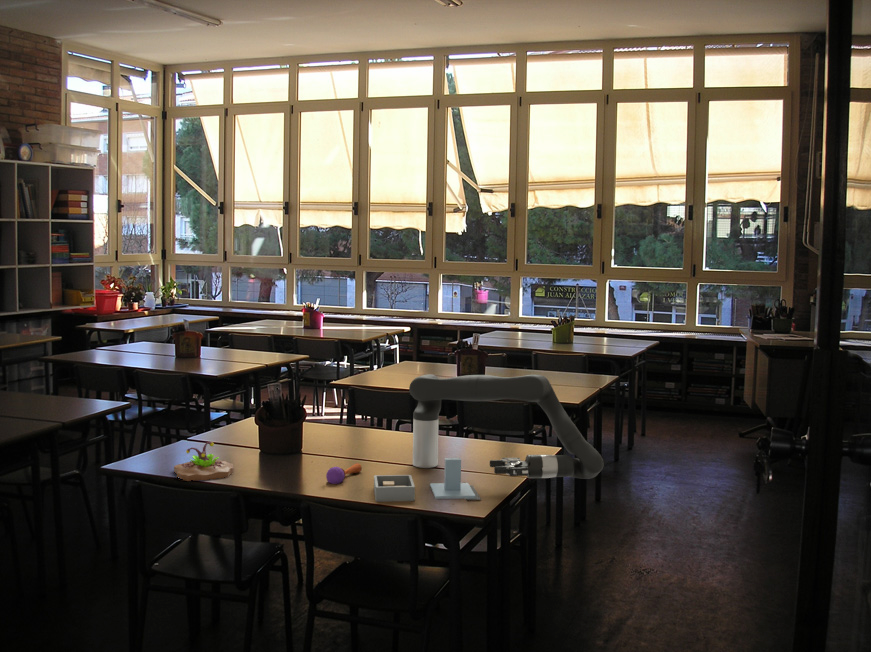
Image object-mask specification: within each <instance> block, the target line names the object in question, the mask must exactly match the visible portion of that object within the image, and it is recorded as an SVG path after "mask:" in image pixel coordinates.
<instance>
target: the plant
mask: <svg viewBox="0 0 871 652" xmlns="http://www.w3.org/2000/svg"><path fill="white" fill-rule="evenodd" d="M208 445H209V446H210V447H214V445H215V443H214V442H213V441H207V442H205V443H204V445H203V447H202V451H200V450H199V449H198V448H196V447H193V446H192V447H190V448H187V449H186V452H185V453H186V454H190V452H191V450H194V451H196V453H197V455H195V454H193V455H192V459H191V458H190V459H189V460H190V461H187V462H185V463H177V464H176V465H174V466H173V473H174V472H175V473H176V474H177V475H176V474H175V473H174V474H175V475H176V478H177V477H179V478H181V479H183V480H182V481H187V482H192V481H191V480H193V481H199V480H205V481H210V480H209V479H212V480H217V479H216V478H219V479H223V478H224V477H226V478H229V477H230V476H231V475H233V474H234V473H235V471H234V469H235V468H234V464H233V463H231V462H230V463H229V462H228V461H226V460H218V459H219V458H220V456H217V457H215V455H214V454H212V453H209V454H207V452H206V451H207V450H206V448H207V446H208ZM214 457H215V458H214ZM233 472H234V473H233ZM232 473H233V474H232ZM230 474H231V475H230ZM229 475H230V476H229ZM228 476H229V477H228ZM224 479H225V478H224Z"/></svg>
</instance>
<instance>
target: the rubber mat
mask: <svg viewBox="0 0 871 652" xmlns="http://www.w3.org/2000/svg"><path fill="white" fill-rule="evenodd" d="M469 485H470V487H471V489H472V491H473V492H474V494H475V499H465V501H466V500H481V501H482V499H481V496H480V494H479V493H478V491H477V490H476V488H475V486H474V485H471V484H469Z"/></svg>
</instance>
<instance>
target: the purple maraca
mask: <svg viewBox="0 0 871 652" xmlns="http://www.w3.org/2000/svg"><path fill="white" fill-rule="evenodd" d="M362 467H363V466H362V464H360V463H354V464H353V465H351V466H350V467H348V468H346V469H345V470H344V468H342V467H340V466H333V467H331V468H330V467H329V469H328V470H327V472H326V475H325V477H326V480H327V482H328V483H329V484H331V485H338V484H341V483H343V482H344V480H345V477H346V475H351V474H357V473H361V472H362V469H363V468H362Z"/></svg>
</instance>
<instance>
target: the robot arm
mask: <svg viewBox="0 0 871 652" xmlns="http://www.w3.org/2000/svg"><path fill="white" fill-rule="evenodd" d="M408 391H409V394H410V395H411V397H412V398H413V399H414V400H417V406H416V407H415V409H414V411H413V414H412V415H413V417H412V418H413V419H412V422H413V424H412V427H413V428H412V430H413V431H412V466H414V467H417V468H424V469H428V468H429V469H430V468H435V467H437V466H438V465H439V462H438V461H439V460H438V459H439V414H440V412H441V409H442V400H451V401H464V402H492V401H499V400H516V401H525V402H532V403H534V402H535V403H537V405H538V406H540V407H541V410H543V412H544V413H545V414H546V416H547V418H548V419H549V422H550V424H551V427H552V429H553V431H554V433H555V435H556V437H557V439H558V440H559V441H560V443H561V444H562V446H563V447H564V448H565V450H566V451H567V453H569V454H570V455H568V454H567V455H566V454H561V455H559V454H527V455H526V456H525V460H521V458H520V457H502V458H501V459H491V460H489V467H490V468H493V471H494V474H495V475H507V476H509V477H526V478H528V479H549V478H550V479H551V478H565V477H567V478H568V477H569V478H575V479H582V480H583V479H584V480H588V479H589V480H590V479H594V478H595V477H597V476H598V475H599V473H600V472H601V471H603V469H604V466H605V464H604V459H603V457H602V455H601V454H600V453H599V451H598V450H597V449H596V448H594V446H593V445H592V444H590V443H589V442H588V441H587V440H586V439H585V437H584V436H583V435H582V433H581V431H580V430H579V429H578V427H577V426H576V424H574V422H573V420H572V419H571V418H570V416H569V415H568V413H567V412H566V410H565V409H564V407H563V405H562V404H561V402H560V400H559V399H558V397H557V395H556V393H555V391H554V388H553V386H552V385H551V383H550V380H549V379H548V378H547V377H546V376H544V375H542V374H527V375H520V376H510V377H509V376H508V377H503V376H497V375H489V374H470V375H469V374H467V375H460V376H454V377H448V378H447V377H446V378H439V377H438V376H436V375H435V374H432V373H427V374H424V375H419V376H417V377H415V378H414V379H412V381H411V382H410V384H409V389H408ZM572 455H574V456H575V457H572Z"/></svg>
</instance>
